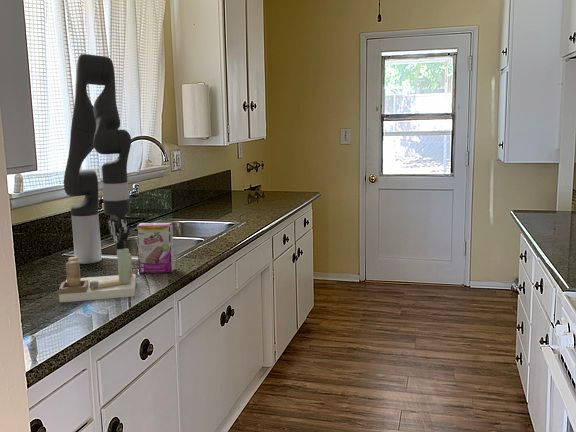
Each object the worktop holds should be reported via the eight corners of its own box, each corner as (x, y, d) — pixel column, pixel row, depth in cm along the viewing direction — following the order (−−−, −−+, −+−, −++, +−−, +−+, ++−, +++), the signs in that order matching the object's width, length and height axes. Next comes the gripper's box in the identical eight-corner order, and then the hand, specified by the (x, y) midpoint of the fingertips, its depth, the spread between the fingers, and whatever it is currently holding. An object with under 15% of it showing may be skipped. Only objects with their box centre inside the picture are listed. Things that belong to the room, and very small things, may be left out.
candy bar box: (138, 274, 192) (135, 225, 190) (141, 270, 197) (139, 222, 195) (172, 273, 193) (170, 224, 190) (174, 269, 198) (172, 222, 195)
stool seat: (67, 286, 179) (64, 256, 178) (135, 281, 184) (134, 252, 182) (59, 302, 164) (56, 270, 162) (134, 296, 169) (132, 265, 167)
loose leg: (68, 288, 169) (66, 261, 168) (81, 287, 170) (79, 260, 168) (66, 291, 166) (64, 264, 164) (80, 290, 166) (78, 263, 165)
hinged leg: (91, 289, 166) (89, 255, 165) (88, 286, 169) (86, 253, 168) (132, 282, 173) (130, 250, 171) (128, 280, 176) (126, 248, 174)
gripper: (136, 199, 169) (140, 256, 172) (120, 194, 179) (124, 248, 182) (111, 201, 164) (115, 260, 168) (96, 196, 175) (100, 252, 178)
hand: (120, 254), depth 175 cm, fingers closed
